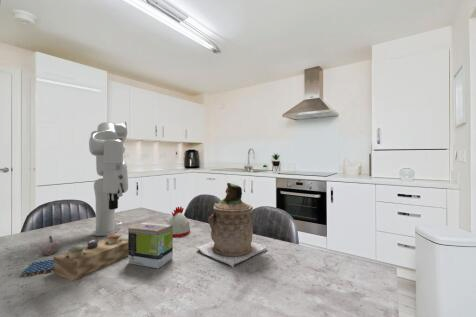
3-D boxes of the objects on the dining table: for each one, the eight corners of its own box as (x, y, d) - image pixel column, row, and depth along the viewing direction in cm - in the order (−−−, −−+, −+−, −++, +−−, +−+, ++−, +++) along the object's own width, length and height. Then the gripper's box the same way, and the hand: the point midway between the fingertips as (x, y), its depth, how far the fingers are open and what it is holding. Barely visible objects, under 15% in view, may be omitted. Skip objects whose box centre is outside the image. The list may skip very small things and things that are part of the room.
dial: (91, 245, 93) (91, 238, 93) (99, 245, 93) (99, 239, 93) (85, 248, 90) (85, 242, 90) (93, 249, 89) (93, 242, 89)
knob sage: (79, 264, 87) (79, 244, 87) (86, 266, 85) (86, 246, 85) (65, 269, 82) (65, 248, 82) (72, 272, 80) (72, 251, 80)
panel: (114, 249, 104) (114, 236, 104) (131, 254, 98) (131, 240, 98) (53, 273, 82) (53, 257, 82) (71, 280, 77) (71, 263, 77)
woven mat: (31, 266, 88) (31, 261, 88) (64, 261, 92) (64, 256, 93) (17, 279, 79) (17, 273, 79) (54, 273, 83) (54, 268, 83)
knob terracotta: (115, 249, 100) (115, 232, 100) (122, 251, 98) (122, 234, 98) (104, 254, 96) (104, 236, 96) (111, 256, 94) (111, 237, 94)
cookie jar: (269, 250, 103) (268, 181, 103) (231, 269, 85) (231, 186, 85) (231, 237, 119) (231, 178, 120) (193, 251, 101) (193, 182, 102)
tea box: (173, 258, 94) (173, 224, 94) (157, 269, 84) (157, 231, 85) (145, 253, 99) (145, 220, 99) (127, 263, 89) (127, 227, 89)
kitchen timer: (195, 231, 129) (194, 206, 129) (176, 239, 117) (176, 210, 117) (178, 227, 136) (178, 203, 136) (159, 234, 125) (159, 207, 125)
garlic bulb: (48, 257, 96) (48, 238, 96) (35, 255, 97) (35, 237, 97) (65, 250, 103) (65, 233, 103) (52, 248, 105) (52, 232, 105)
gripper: (132, 167, 97) (132, 209, 98) (110, 166, 104) (110, 205, 104) (116, 168, 90) (116, 213, 91) (94, 167, 97) (94, 208, 97)
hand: (113, 208), depth 97 cm, fingers closed
